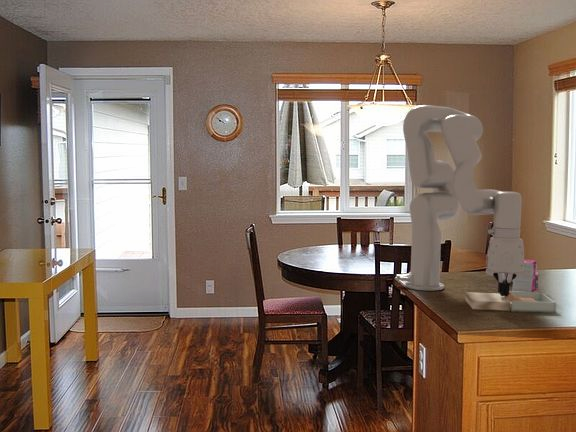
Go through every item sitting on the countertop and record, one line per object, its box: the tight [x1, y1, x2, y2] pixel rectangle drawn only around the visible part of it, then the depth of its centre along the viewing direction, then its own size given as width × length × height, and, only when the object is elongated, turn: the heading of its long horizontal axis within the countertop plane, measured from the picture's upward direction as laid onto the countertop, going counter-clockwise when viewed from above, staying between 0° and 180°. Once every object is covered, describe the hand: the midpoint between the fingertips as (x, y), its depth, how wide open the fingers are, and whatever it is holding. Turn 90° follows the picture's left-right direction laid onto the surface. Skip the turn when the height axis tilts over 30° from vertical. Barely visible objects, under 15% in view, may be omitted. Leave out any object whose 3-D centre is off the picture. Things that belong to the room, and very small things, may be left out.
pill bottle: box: [534, 264, 540, 292], centre depth 217 cm, size 5×5×9 cm
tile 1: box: [505, 292, 521, 302], centre depth 195 cm, size 4×4×2 cm
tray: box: [504, 290, 557, 314], centre depth 195 cm, size 12×14×3 cm
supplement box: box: [511, 259, 537, 292], centre depth 209 cm, size 6×6×12 cm
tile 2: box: [518, 297, 536, 302], centre depth 195 cm, size 4×4×2 cm
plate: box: [465, 291, 511, 312], centre depth 196 cm, size 10×12×2 cm
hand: (503, 295), depth 195 cm, fingers closed
